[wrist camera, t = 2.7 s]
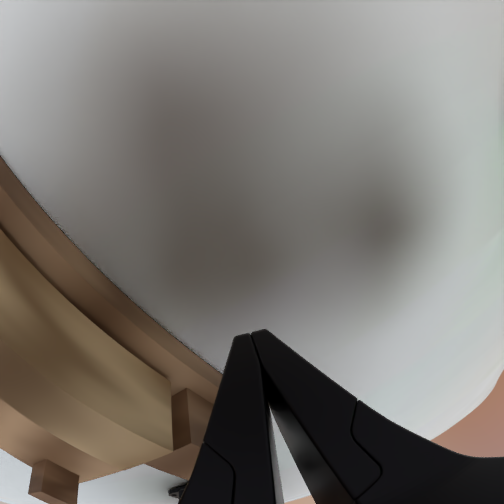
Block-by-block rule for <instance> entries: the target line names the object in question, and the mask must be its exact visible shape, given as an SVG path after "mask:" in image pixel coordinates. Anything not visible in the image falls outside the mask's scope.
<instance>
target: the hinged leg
mask: <svg viewBox="0 0 504 504" xmlns="http://www.w3.org/2000/svg"><path fill="white" fill-rule="evenodd" d="M0 399H2V400H3V401H4V402H6V403H7V404H8V405H10V406H11V407H12V408H14V409H15V410H16V411H18V412H19V413H21V414H22V415H24V416H25V417H26V418H28V419H29V420H31V421H32V422H34V423H35V424H37V425H38V426H40V427H42V428H43V429H45V430H46V431H48V432H50V433H51V434H53V435H54V436H56V437H58V438H60V439H61V440H63V441H65V442H67V443H68V444H70V445H72V446H74V447H76V448H77V449H79V450H81V451H83V452H85V453H87V454H89V455H91V456H93V457H95V458H97V459H99V460H101V461H103V462H106V463H108V464H110V465H112V466H114V467H117V468H119V469H121V470H126V469H129V468H132V467H135V466H138V465H141V464H144V463H146V462H149V461H152V460H154V459H157V458H159V457H162V456H164V455H167V454H169V453H172V452H173V437H172V413H171V382H170V381H169V380H167V379H166V378H165V377H163V376H162V375H160V374H159V373H157V372H156V371H154V370H153V369H152V368H150V367H149V366H147V365H146V364H145V363H143V362H142V361H141V360H139V359H138V358H137V357H135V356H134V355H133V354H131V353H130V352H129V351H127V350H126V349H125V348H123V347H122V346H121V345H120V344H118V343H117V342H116V341H115V340H113V339H112V338H111V337H110V336H108V335H107V334H106V333H105V332H104V331H102V330H101V329H100V328H99V327H98V326H96V325H95V324H94V323H93V322H92V321H91V320H89V319H88V318H87V317H86V316H85V315H84V314H83V313H81V312H80V311H79V310H78V309H77V308H76V307H75V306H74V305H73V304H71V303H70V302H69V301H68V300H67V299H66V298H65V297H64V296H63V295H62V294H61V293H60V292H59V291H58V290H57V289H56V288H55V287H54V286H52V285H51V284H50V283H49V282H48V281H47V280H46V279H45V278H44V277H43V275H42V274H41V273H40V272H39V271H38V270H37V269H36V268H35V267H34V266H33V265H32V264H31V263H30V262H29V261H28V260H27V259H26V258H25V256H24V255H23V254H22V253H21V252H20V251H19V250H18V249H17V248H16V246H15V245H14V244H13V243H12V242H11V241H10V240H9V238H8V237H7V236H6V235H5V234H4V232H3V231H2V230H1V229H0Z"/></svg>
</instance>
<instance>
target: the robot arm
mask: <svg viewBox="0 0 504 504" xmlns="http://www.w3.org/2000/svg"><path fill="white" fill-rule="evenodd" d="M269 406H270V408H269ZM270 409H271V411H272V414H273V416H274V418H275V421H276V423H277V425H278V427H279V429H280V431H281V434H282V436H283V438H284V440H285V442H286V444H287V446H288V448H289V450H290V452H291V455H292V457H293V459H294V461H295V463H296V465H297V467H298V469H299V471H300V473H301V475H302V477H303V479H304V481H305V483H306V485H307V487H308V489H309V491H310V493H311V495H312V497H313V498H314V501H315V503H316V504H504V457H485V458H484V457H472V456H467V455H462V454H459V453H456V452H454V451H451V450H449V449H447V448H444V447H442V446H440V445H438V444H436V443H433V442H431V441H429V440H427V439H425V438H423V437H421V436H419V435H417V434H415V433H413V432H411V431H409V430H407V429H405V428H403V427H401V426H399V425H398V424H396V423H394V422H392V421H390V420H388V419H387V418H385V417H384V416H382V415H381V414H379V413H378V412H376V411H375V410H373V409H372V408H370V407H369V406H367V405H366V404H365V403H363V402H362V401H361V400H358V401H357V398H356V397H355V396H353V395H352V394H351V393H349V392H348V391H346V390H345V389H344V388H342V387H341V386H340V385H338V384H337V383H336V382H334V381H333V380H332V379H330V378H329V377H328V376H326V375H325V374H324V373H322V372H321V371H320V370H318V369H317V368H316V367H314V366H313V365H312V364H310V363H309V362H308V361H306V360H305V359H304V358H303V357H301V356H300V355H299V354H297V353H296V352H295V351H294V350H292V349H291V348H290V347H288V346H287V345H286V344H285V343H283V342H282V341H281V340H280V339H278V338H277V337H276V336H274V335H273V334H272V333H271V332H269V331H268V330H267V329H262V330H258V331H254V332H252V333H251V335H250V334H249V333H246V334H242V335H238V336H235V337H234V339H233V342H232V346H231V349H230V352H229V356H228V359H227V362H226V366H225V369H224V372H223V375H222V379H221V382H220V385H219V389H218V392H217V395H216V399H215V402H214V405H213V408H212V412H211V415H210V418H209V421H208V425H207V428H206V431H205V434H204V438H203V442H204V443H202V444H201V447H200V450H199V453H198V457H197V459H196V462H195V465H194V468H193V471H192V474H191V476H190V479H189V481H188V483H187V485H185V486H182V487H179V488H175V489H172V490H169V491H168V493H169V496H172V497H175V498H179V502H178V504H284V499H283V492H282V486H281V479H280V472H279V466H278V459H277V452H276V446H275V439H274V432H273V425H272V419H271V413H270Z"/></svg>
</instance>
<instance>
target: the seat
mask: <svg viewBox="0 0 504 504" xmlns="http://www.w3.org/2000/svg"><path fill="white" fill-rule="evenodd" d="M0 229H1V230H2V231H3V232H4V234H5V235H6V236H7V237H8V238H9V240H10V241H11V242H12V243H13V244H14V245H15V246H16V248H17V249H18V250H19V251H20V252H21V253H22V254H23V255H24V256H25V258H26V259H27V260H28V261H29V262H30V263H31V264H32V265H33V266H34V267H35V268H36V269H37V270H38V271H39V272H40V273H41V274H42V275H43V277H44V278H45V279H46V280H47V281H48V282H49V283H50V284H51V285H52V286H54V287H55V288H56V289H57V290H58V291H59V292H60V293H61V294H62V295H63V296H64V297H65V298H66V299H67V300H68V301H69V302H70V303H71V304H73V305H74V306H75V307H76V308H77V309H78V310H79V311H80V312H81V313H83V314H84V315H85V316H86V317H87V318H88V319H89V320H91V321H92V322H93V323H94V324H95V325H96V326H98V327H99V328H100V329H101V330H102V331H104V332H105V333H106V334H107V335H108V336H110V337H111V338H112V339H113V340H115V341H116V342H117V343H118V344H120V345H121V346H122V347H123V348H125V349H126V350H127V351H129V352H130V353H131V354H133V355H134V356H135V357H137V358H138V359H139V360H141V361H142V362H143V363H145V364H146V365H147V366H149V367H150V368H152V369H153V370H154V371H156V372H157V373H159V374H160V375H162V376H163V377H165V378H166V379H167V380H169V381H170V382H171V413H172V437H173V452H172V453H169V454H167V455H164V456H162V457H159V458H157V459H154V460H152V461H149V462H146V463H144V464H146V465H149V466H151V467H153V468H156V469H158V470H161V471H164V472H166V473H169V474H172V475H175V476H177V477H180V478H183V479H186V480H189V479H190V476H191V474H192V471H193V468H194V465H195V462H196V459H197V457H198V453H199V450H200V447H201V444H202V443H204V442H203V438H204V434H205V431H206V428H207V425H208V421H209V418H210V415H211V412H212V408H213V405H214V402H215V399H216V395H217V392H218V389H219V385H220V382H221V379H222V374H221V373H219V372H218V371H217V370H215V369H214V368H213V367H211V366H210V365H209V364H207V363H206V362H205V361H203V360H202V359H201V358H200V357H198V356H197V355H196V354H194V353H193V352H192V351H191V350H189V349H188V348H187V347H185V346H184V345H183V344H182V343H180V342H179V341H178V340H177V339H176V338H174V337H173V336H172V335H171V334H169V333H168V332H167V331H166V330H165V329H163V328H162V327H161V326H160V325H159V324H158V323H156V322H155V321H154V320H153V319H152V318H151V317H149V316H148V315H147V314H146V313H145V312H144V311H143V310H141V309H140V308H139V307H138V306H137V305H136V304H135V303H134V302H132V301H131V300H130V299H129V298H128V297H127V296H126V295H125V294H124V293H123V292H122V291H120V290H119V289H118V288H117V287H116V286H115V285H114V284H113V283H112V282H111V281H110V280H109V279H108V278H107V277H106V276H105V275H104V274H103V273H102V272H101V271H100V270H99V269H97V268H96V267H95V266H94V265H93V264H92V263H91V262H90V261H89V259H88V258H87V257H86V256H85V255H84V254H83V253H82V252H81V251H80V250H79V249H78V248H77V247H76V246H75V245H74V244H73V243H72V242H71V241H70V240H69V239H68V238H67V236H66V235H65V234H64V233H63V232H62V231H61V230H60V229H59V228H58V227H57V226H56V224H55V223H54V222H53V221H52V220H51V219H50V218H49V216H48V215H47V214H46V213H45V212H44V211H43V210H42V208H41V207H40V206H39V205H38V204H37V202H36V201H35V200H34V199H33V198H32V196H31V195H30V194H29V193H28V192H27V190H26V189H25V188H24V187H23V185H22V184H21V183H20V182H19V180H18V179H17V178H16V176H15V175H14V174H13V173H12V171H11V170H10V169H9V167H8V166H7V165H6V163H5V162H4V161H3V159H2V158H1V156H0ZM0 448H1V449H3V450H4V451H6V452H7V453H9V454H10V455H12V456H14V457H15V458H17V459H19V460H20V461H22V462H24V463H25V464H27V465H29V466H31V467H32V474H31V479H30V485H29V491H28V494H30V495H32V496H34V497H36V498H38V499H40V500H42V501H44V502H46V503H48V504H77V497H78V485H79V483H82V482H86V481H89V480H93V479H96V478H100V477H103V476H106V475H110V474H113V473H116V472H119V471H122V470H121V469H119V468H117V467H114V466H112V465H110V464H108V463H106V462H103V461H101V460H99V459H97V458H95V457H93V456H91V455H89V454H87V453H85V452H83V451H81V450H79V449H77V448H76V447H74V446H72V445H70V444H68V443H67V442H65V441H63V440H61V439H60V438H58V437H56V436H54V435H53V434H51V433H50V432H48V431H46V430H45V429H43V428H42V427H40V426H38V425H37V424H35V423H34V422H32V421H31V420H29V419H28V418H26V417H25V416H24V415H22V414H21V413H19V412H18V411H16V410H15V409H14V408H12V407H11V406H10V405H8V404H7V403H6V402H4V401H3V400H2V399H0Z"/></svg>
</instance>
